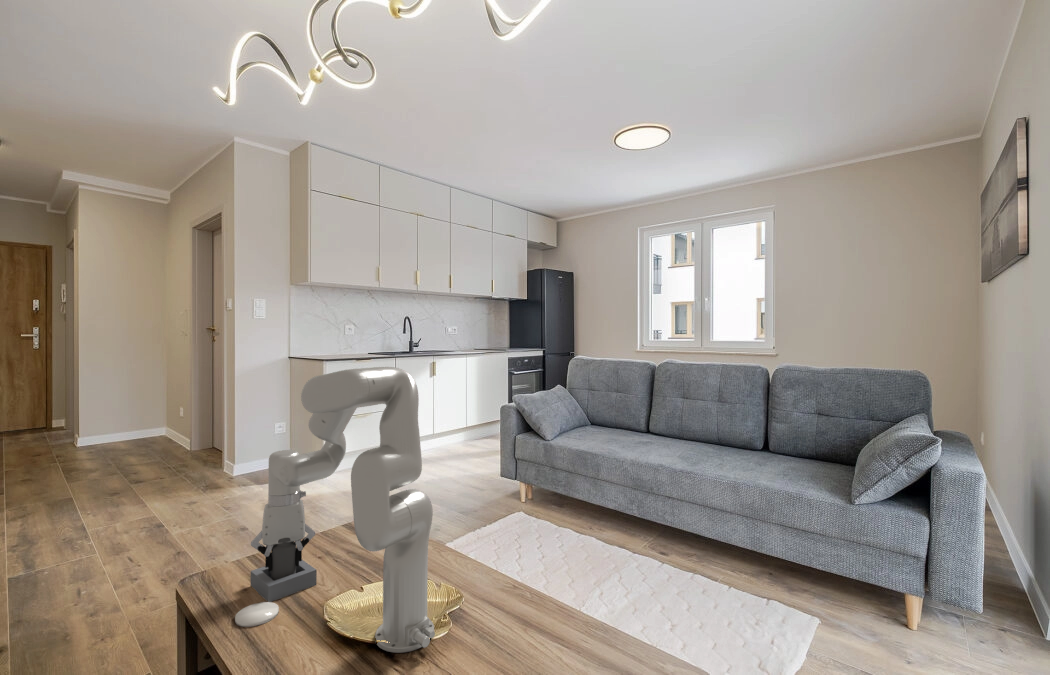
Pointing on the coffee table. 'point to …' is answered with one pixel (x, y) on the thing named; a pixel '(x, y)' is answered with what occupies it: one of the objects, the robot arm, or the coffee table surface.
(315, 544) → the coffee table surface
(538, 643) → the coffee table surface
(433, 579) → the coffee table surface
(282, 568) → the bottle
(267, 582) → the square frame
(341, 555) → the coffee table surface
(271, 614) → the white round part
